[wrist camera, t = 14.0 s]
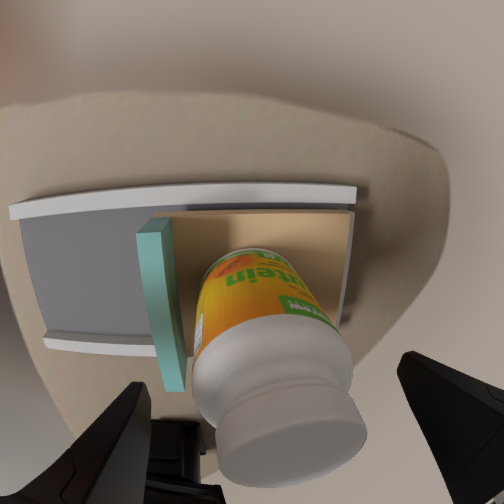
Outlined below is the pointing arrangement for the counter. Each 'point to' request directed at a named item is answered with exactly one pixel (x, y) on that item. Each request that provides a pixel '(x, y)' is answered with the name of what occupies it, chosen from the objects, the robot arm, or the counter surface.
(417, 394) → the robot arm
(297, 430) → the supplement bottle
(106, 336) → the track
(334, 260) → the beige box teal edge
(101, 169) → the counter surface
